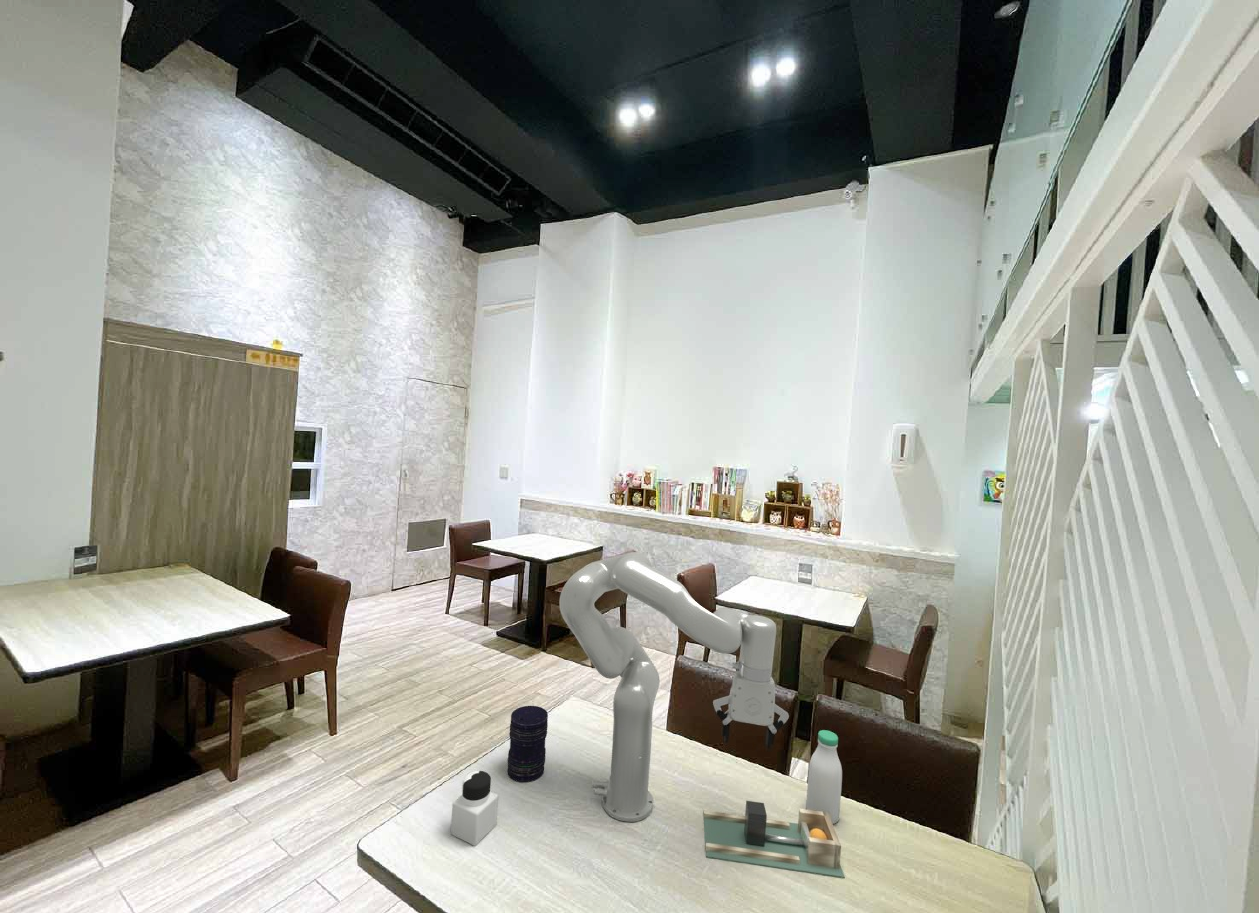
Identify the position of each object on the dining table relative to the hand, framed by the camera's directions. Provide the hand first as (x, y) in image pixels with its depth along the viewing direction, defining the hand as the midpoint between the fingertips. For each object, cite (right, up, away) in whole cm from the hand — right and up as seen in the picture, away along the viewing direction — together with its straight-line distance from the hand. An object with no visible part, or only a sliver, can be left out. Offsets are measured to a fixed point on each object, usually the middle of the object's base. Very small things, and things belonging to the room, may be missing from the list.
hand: (746, 742), depth 118 cm
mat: (+4, -21, -3) cm, 21 cm away
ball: (+15, -19, -4) cm, 25 cm away
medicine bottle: (-62, -17, -5) cm, 65 cm away
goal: (+15, -21, -4) cm, 26 cm away
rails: (0, -20, -3) cm, 20 cm away
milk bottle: (+20, -22, +7) cm, 31 cm away
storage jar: (-55, -17, +16) cm, 60 cm away
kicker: (+6, -20, -3) cm, 22 cm away
